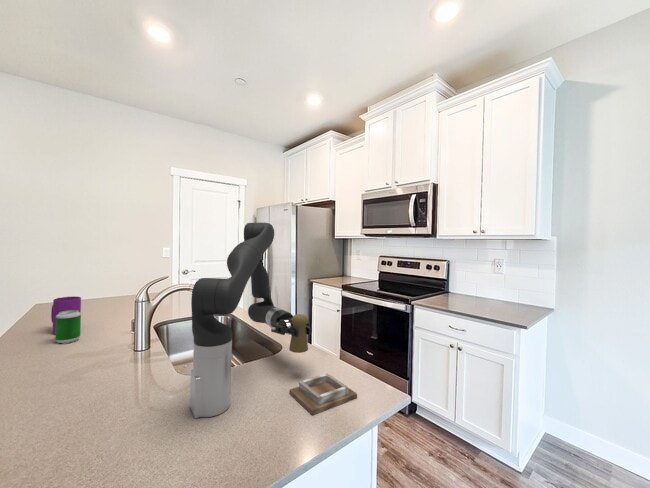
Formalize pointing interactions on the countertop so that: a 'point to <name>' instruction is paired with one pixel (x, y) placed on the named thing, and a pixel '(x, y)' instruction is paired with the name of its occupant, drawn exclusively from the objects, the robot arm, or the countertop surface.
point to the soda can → (68, 326)
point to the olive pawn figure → (299, 334)
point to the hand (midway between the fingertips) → (303, 332)
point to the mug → (64, 307)
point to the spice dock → (321, 393)
